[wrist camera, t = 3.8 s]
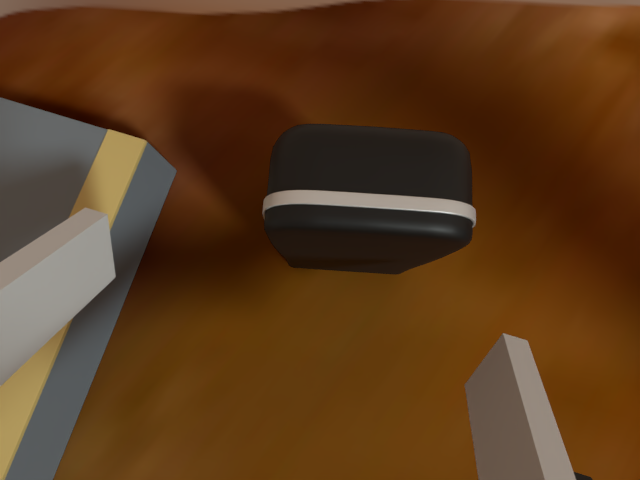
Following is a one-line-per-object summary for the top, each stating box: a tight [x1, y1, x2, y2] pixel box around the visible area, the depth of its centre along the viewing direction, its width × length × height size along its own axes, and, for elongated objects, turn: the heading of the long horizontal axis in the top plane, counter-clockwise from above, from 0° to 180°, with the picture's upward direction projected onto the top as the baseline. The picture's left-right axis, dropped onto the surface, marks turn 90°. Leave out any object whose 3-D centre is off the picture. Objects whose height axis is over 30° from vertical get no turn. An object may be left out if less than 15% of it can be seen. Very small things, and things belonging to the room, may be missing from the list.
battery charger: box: [262, 124, 476, 274], centre depth 16 cm, size 7×4×11 cm, turn 86°
